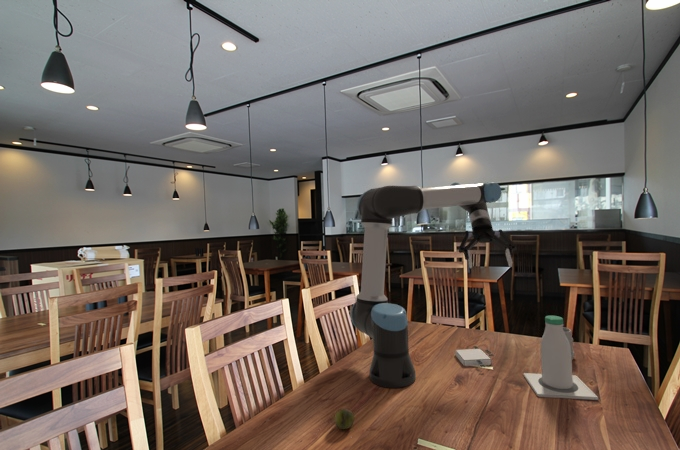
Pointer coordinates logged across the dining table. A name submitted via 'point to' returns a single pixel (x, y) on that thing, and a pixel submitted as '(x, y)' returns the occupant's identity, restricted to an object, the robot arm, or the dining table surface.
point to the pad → (574, 392)
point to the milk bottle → (556, 355)
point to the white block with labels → (473, 357)
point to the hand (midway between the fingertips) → (490, 265)
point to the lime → (344, 418)
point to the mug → (570, 339)
